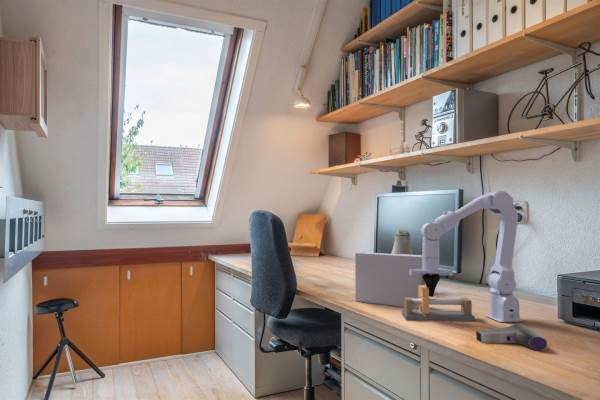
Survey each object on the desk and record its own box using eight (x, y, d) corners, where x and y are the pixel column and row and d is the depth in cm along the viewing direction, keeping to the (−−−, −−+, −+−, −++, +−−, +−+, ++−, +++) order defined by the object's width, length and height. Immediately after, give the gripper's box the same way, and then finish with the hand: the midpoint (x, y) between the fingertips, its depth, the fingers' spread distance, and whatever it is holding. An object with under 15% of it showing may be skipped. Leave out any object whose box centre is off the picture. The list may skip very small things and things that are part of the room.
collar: (424, 309, 154) (424, 285, 154) (429, 313, 147) (428, 288, 147) (418, 309, 154) (418, 284, 155) (423, 313, 147) (422, 288, 148)
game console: (360, 298, 182) (360, 251, 183) (425, 306, 168) (425, 255, 169) (355, 301, 177) (355, 252, 178) (421, 309, 163) (421, 256, 164)
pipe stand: (466, 315, 154) (466, 296, 154) (474, 321, 146) (474, 301, 146) (401, 314, 155) (401, 295, 155) (406, 320, 147) (406, 300, 147)
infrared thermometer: (475, 342, 127) (525, 338, 127) (494, 356, 115) (550, 352, 115) (474, 326, 127) (524, 322, 127) (493, 339, 115) (548, 335, 115)
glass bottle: (390, 291, 197) (389, 230, 198) (392, 287, 207) (392, 229, 208) (412, 293, 194) (411, 230, 195) (413, 289, 204) (413, 229, 204)
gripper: (448, 256, 155) (448, 294, 154) (407, 255, 155) (407, 293, 155) (454, 258, 148) (454, 298, 147) (411, 258, 148) (411, 297, 148)
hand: (430, 296), depth 151 cm, fingers closed
